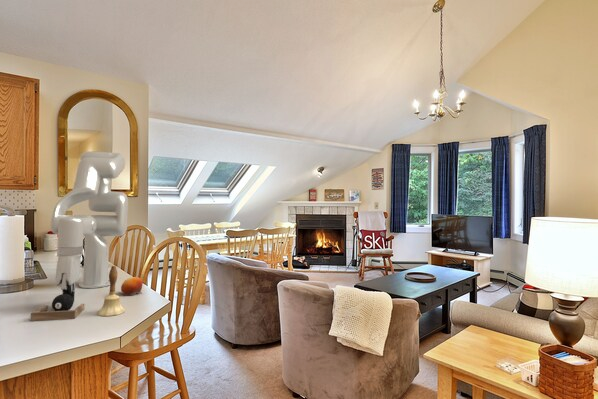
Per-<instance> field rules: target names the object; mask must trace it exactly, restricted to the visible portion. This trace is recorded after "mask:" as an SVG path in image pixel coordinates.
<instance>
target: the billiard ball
mask: <svg viewBox="0 0 598 399" xmlns="http://www.w3.org/2000/svg"><path fill="white" fill-rule="evenodd" d="M74 303H75V299H74V300H73V298H72V296H70V295H68V294H63V293H61V294H59V295H57V296H55V297H54V298H53V300H52V302H51V309H52V311H68V310H71V309H72V307H73V306H74Z"/></svg>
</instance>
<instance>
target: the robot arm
mask: <svg viewBox="0 0 598 399" xmlns="http://www.w3.org/2000/svg"><path fill="white" fill-rule="evenodd" d="M77 166H78V167H77V170H76V175H75V180H74V182H73V187H72V189H71V190H70V191H69V192H68V193H66V194H65V195H64V196H62V197H61V198H60V199H59V200H58V201H57V203H56V205H55V206H54V208H53V211H52V216H51V220H50V230H51V232H52V233H53V234H55V235H57V248H56V251H57V252H56V257H58V258H57V262H56V270H55V281H54V284H55V286H56V287H57V286H60V285H61V288H60V289H61V292H62V294H68V295H70V296H72V298H73V300H74V301H75V292H76V291H75V289H76V282H78V281H79V280H80V276H81V256H83V253H84V256H83V257H84V258H83V279H82V280H83V281H80V282H79V283H78V286H79V288H82V289H96V288H97V289H98V288H104V287H107V286H110V281H109V255H110V245H109V243H108V241H107V240H106V239H105V237H122V236H124V235H126V233H127V230H128V219H129V218H128V217H129V216H128V215H129V198H128V196H127V194H126V193H125V192H122V191H112V190H111V188H112V185H111V184H112V181H111V180H112V179H117V178H118V177H119V175H120V174H121V173H122V172H123V171H124V169H125V166H126V158H125V156H124V155H123V154H122V153H118V152H105V151H84V152H83V153H81V155H80V161H79V162H78V165H77ZM85 201H88V202H87V203H88V208H89V210H90V211H92V212H97V213H115V215H111V214H110V215H109V214H93V215H84V214H83V215H80V214H66V213H67V211H68V210H69V209H70V208H71V207H73V206H75V205H77V204H79V203H82V202H85ZM83 250H84V252H83Z"/></svg>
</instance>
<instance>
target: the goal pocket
mask: <svg viewBox="0 0 598 399" xmlns="http://www.w3.org/2000/svg"><path fill="white" fill-rule="evenodd" d="M85 306H86V304H85V303H80V305H78V306H77V307H76V308H75V309H73V310H71V309H70V310H68V311H54V310H52V311H51V310H50V311H49V305H43V306H41V307H40V308H38V309H37V310H36V311H31V313H30V322H40V321H41V322H42V321H44V322H45V321H57V320H61V321H62V320H75V318H77V317H78V316H79V315H80V314H81V313H82V312H83V311H84V310H85Z"/></svg>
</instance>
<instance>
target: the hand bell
mask: <svg viewBox="0 0 598 399" xmlns="http://www.w3.org/2000/svg"><path fill="white" fill-rule="evenodd" d="M117 279H118V269H117V266H116V265H111V267H110V270H109V272H108V280H109V281H110V285H109V294H108V295H106V296H105V297H104V300H103V305H102V306H101V309H100V310H99V311H98V312H97V316H100V317H112V316H113V317H114V316H118V315H121V314H124V313H125V312H126V309H125V308H124V307H123V306H122V304H121V302H120V301H121V300H120V296H119V295H118V294H116V284H117Z"/></svg>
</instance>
